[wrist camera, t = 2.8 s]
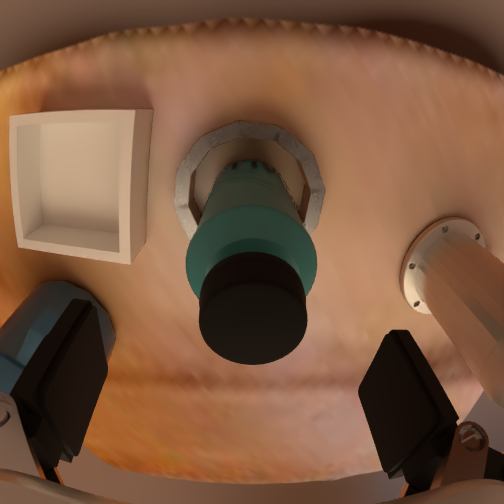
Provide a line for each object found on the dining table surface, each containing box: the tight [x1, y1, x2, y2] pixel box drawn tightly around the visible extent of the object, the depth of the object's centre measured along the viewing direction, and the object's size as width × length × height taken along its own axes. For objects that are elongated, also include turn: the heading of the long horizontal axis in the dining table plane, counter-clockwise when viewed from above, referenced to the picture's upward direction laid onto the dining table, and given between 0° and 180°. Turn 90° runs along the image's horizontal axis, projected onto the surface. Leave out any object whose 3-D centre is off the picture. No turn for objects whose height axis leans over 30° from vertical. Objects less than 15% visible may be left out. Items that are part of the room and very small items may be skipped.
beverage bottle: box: [186, 160, 317, 365], centre depth 20 cm, size 6×7×20 cm
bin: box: [9, 109, 154, 265], centre depth 25 cm, size 13×13×5 cm
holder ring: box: [174, 120, 325, 241], centre depth 27 cm, size 12×12×3 cm
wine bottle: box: [0, 281, 116, 394], centre depth 22 cm, size 14×13×30 cm
